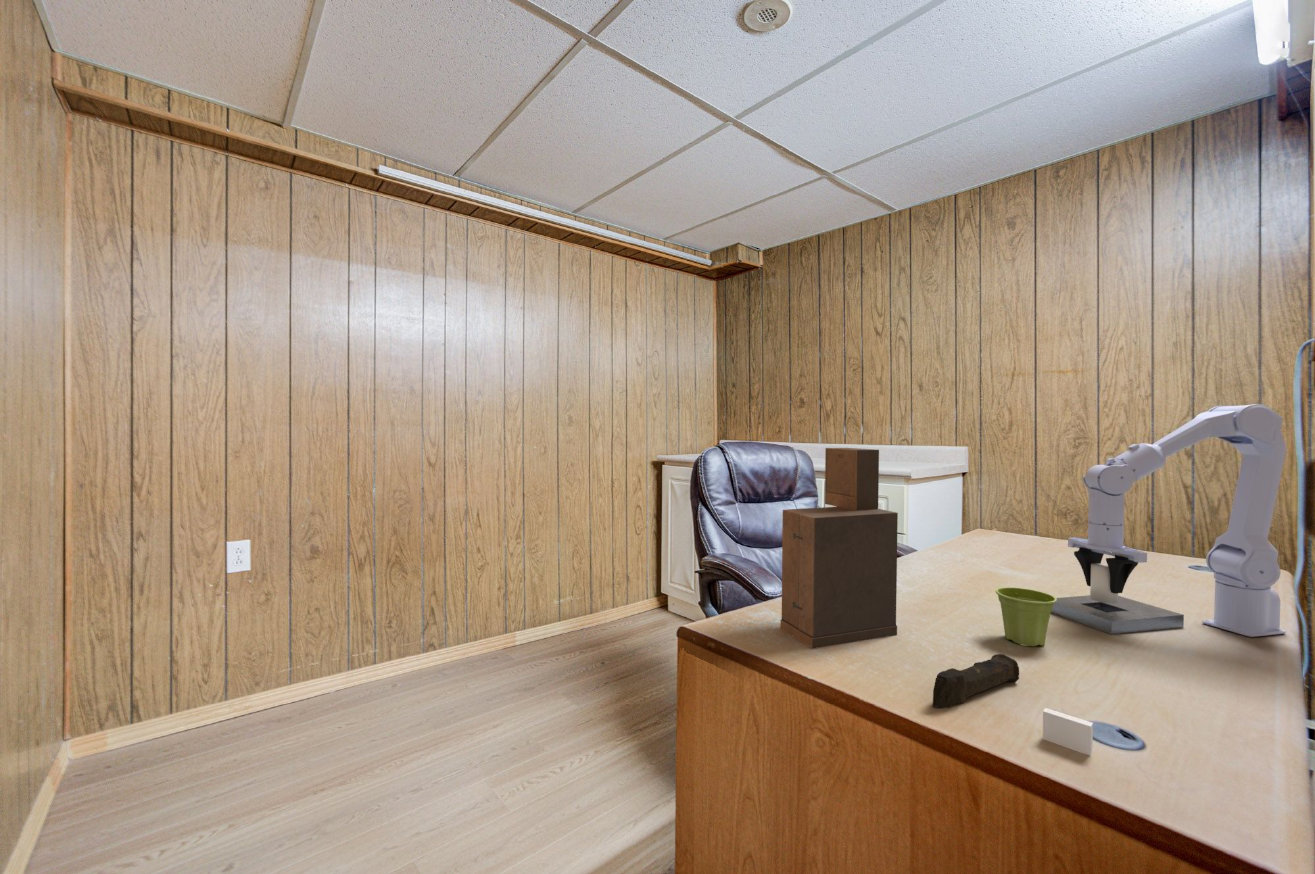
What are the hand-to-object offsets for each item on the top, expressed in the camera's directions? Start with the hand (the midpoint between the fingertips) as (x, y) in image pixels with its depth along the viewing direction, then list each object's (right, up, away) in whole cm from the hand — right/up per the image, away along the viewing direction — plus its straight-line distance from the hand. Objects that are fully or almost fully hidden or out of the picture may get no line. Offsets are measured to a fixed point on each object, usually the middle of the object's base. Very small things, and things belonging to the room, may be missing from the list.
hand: (1104, 589), depth 113 cm
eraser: (-41, -7, -45) cm, 61 cm away
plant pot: (-24, -7, -11) cm, 27 cm away
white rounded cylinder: (0, -2, 0) cm, 2 cm away
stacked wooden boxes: (-57, -6, -7) cm, 58 cm away
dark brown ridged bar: (-45, -7, -32) cm, 56 cm away
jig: (+2, -6, +1) cm, 7 cm away
